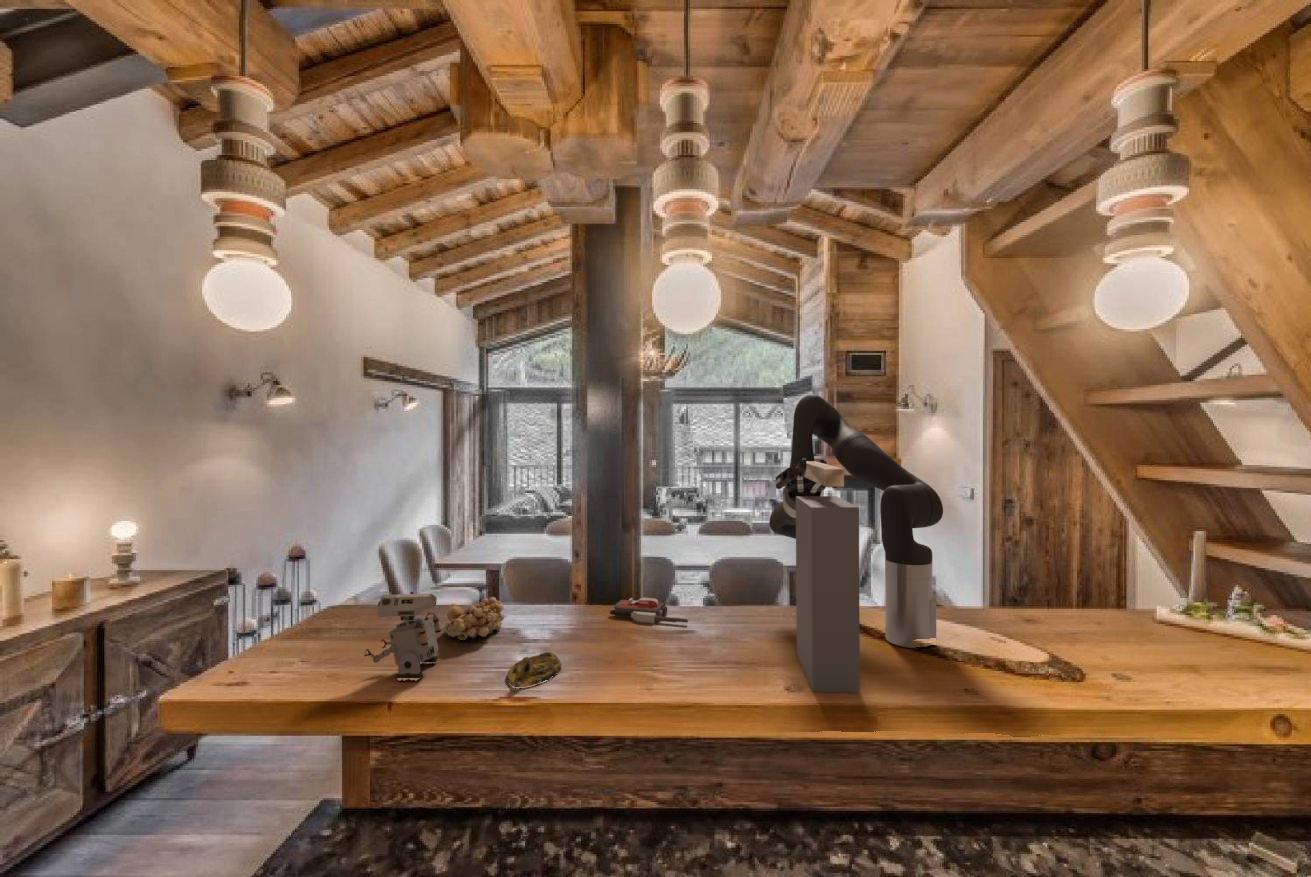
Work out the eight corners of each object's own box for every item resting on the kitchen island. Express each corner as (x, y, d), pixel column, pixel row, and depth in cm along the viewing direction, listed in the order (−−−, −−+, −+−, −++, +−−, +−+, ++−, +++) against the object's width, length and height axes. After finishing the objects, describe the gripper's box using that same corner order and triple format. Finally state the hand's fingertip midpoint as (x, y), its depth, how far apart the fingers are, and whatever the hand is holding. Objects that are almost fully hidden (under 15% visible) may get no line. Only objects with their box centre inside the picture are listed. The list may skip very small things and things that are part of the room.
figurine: (387, 663, 117) (385, 588, 116) (445, 662, 117) (444, 587, 116) (364, 683, 108) (362, 601, 107) (427, 682, 107) (425, 601, 107)
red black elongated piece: (605, 621, 142) (686, 628, 136) (605, 602, 141) (686, 609, 136) (618, 610, 150) (695, 616, 144) (618, 592, 150) (695, 598, 144)
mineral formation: (508, 624, 138) (498, 644, 123) (450, 637, 137) (433, 658, 122) (502, 591, 139) (491, 606, 124) (444, 603, 137) (426, 620, 122)
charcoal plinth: (837, 656, 117) (836, 496, 117) (859, 692, 101) (859, 507, 101) (796, 655, 118) (795, 496, 117) (812, 691, 102) (811, 507, 101)
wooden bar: (815, 475, 125) (815, 461, 125) (843, 486, 101) (843, 469, 101) (800, 475, 125) (800, 461, 125) (826, 486, 101) (826, 469, 101)
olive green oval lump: (527, 662, 120) (494, 694, 105) (524, 639, 120) (491, 668, 105) (571, 659, 118) (544, 692, 103) (568, 636, 118) (541, 665, 103)
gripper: (768, 482, 136) (777, 446, 121) (830, 481, 135) (846, 446, 120) (770, 512, 132) (780, 480, 117) (834, 512, 132) (851, 479, 116)
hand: (813, 463), depth 119 cm, fingers closed on wooden bar, 3 cm apart
